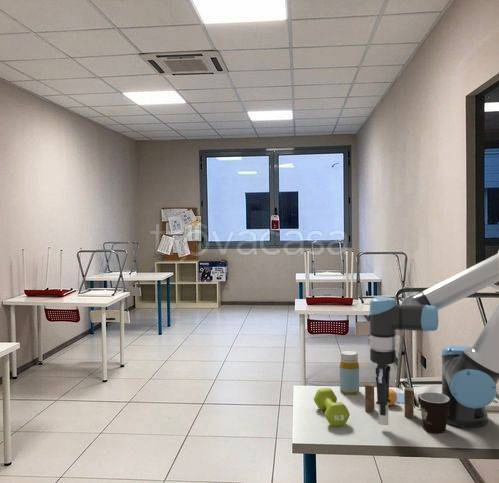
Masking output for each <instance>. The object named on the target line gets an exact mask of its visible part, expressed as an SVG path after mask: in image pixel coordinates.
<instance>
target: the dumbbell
mask: <svg viewBox="0 0 499 483" xmlns="http://www.w3.org/2000/svg"><path fill="white" fill-rule="evenodd" d="M313 402H314V404H315V406H317V408H318V409H319V410H320V411H324V417H325V419H326V421H327V423H329V425H330V426H331V427H335V428H337V427H343V426H345V425H346V423H347V422H348V420H349V418H350V416H351V413H350V412H349V410H348V407H347V406H346V405H345V404H344V403H343V402H341V401H339V402H338V398H337V396H336V394H335V393H334V391H333V389H332V388H330V387H321V388H319V389H317V391H316V393H315V395H314V397H313Z"/></svg>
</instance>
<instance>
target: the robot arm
mask: <svg viewBox="0 0 499 483" xmlns="http://www.w3.org/2000/svg"><path fill="white" fill-rule="evenodd" d="M498 282H499V250H498V251H497V253H495V255H494V254H493V255H492V256H489V257H488V258H486V259H484V260H482V261H479V262H478V263H476V264H473V265H472V266H469V268H466V269H464V270H463V271H460V272H458V273H456V274H454V275H452V276H450V277H448V278H446V279H444V280H442V281H440V282H439V283H437V284H434V285H432V286H430V287H428V288H426V289H424V290H423V291H421V292H418V293H416V294H410V295H409V294H408V295H407V296H406V297H404V298H403V300H402V302H401V304H397V303H396V299H395V298H393V297H389V296H378V297H377V296H375V297H373V298H371V300H370V302H369V334H370V336H368V337H367V340H369V341H370V342H369V344H370V346H369V347H370V350H369V352H370V353H369V358H370V361H371V362H372V363H374V364H376V367H375V375H376V376H375V383H376V400H377V401H376V402H375V404H376V405H378V425H382V426H389V405H388V403H387V402H391V400H390V399H388V398H389V389H390V380H391V379H390V378H391V375H390V374H391V373H390V372H391V366H390V365H391V364H392V365H393V364H395V363H396V361H397V351H396V348H397V335H396V331H415V332H416V331H417V332H433V331H437V330H438V328H439V310H442V309H444V308H446V307H448V306H451V305H452V304H454V303H456V302H458V301H461V300H463V299H465V298H467V297H469V296H472V295H473V294H475V293H478V292H479V291H482V290H484V289H486V288H488V287H490V286H492V285H494V284H496V283H498ZM440 357H441V394H444V395H446V396H448V397H449V407H448V415H447V423H446V424H448V425H450V426H451V425H452V426H454V427H455V426H456V427H460V428H469V429H470V428H471V429H472V428H479V427H483V426H486V424H487V423H488V419H489V416H488V411H487V408H486V407H487V406H488V405H490V404H491V403H492V402H494V400H495V398H496V396H497V384H498V382H499V303H498V304H497V306H496V307H495V309H494V311H493V312H492V314H491V315H490V317H489V319H488V321H487V322H486V324H485V325H484V327H483V329H482V330H481V332H480V334H479V335H478V337H477V338H476V340H475V342H474V343H473V345H472V346H468V345H447V346H443V347H442V349H441V356H440Z"/></svg>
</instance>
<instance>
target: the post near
mask: <svg viewBox="0 0 499 483" xmlns="http://www.w3.org/2000/svg"><path fill="white" fill-rule="evenodd" d="M403 389H404V392H403V393H404V405H403V406H404V417H405V418H409V419H410V418H411V419H413V418H414V415H415V413H414V412H415V411H414V408H415V407H414V404H415V403H414V397H415V396H414V390H415V389H414V387H408V386H405V387H404V388H403Z"/></svg>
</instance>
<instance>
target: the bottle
mask: <svg viewBox="0 0 499 483" xmlns="http://www.w3.org/2000/svg"><path fill="white" fill-rule="evenodd" d="M358 359H359V358H358V351H356V350H353V349H344V350H341V351H340V362H339V391H340V393H341V394H342V395H347V396H355V395H358V393H359V392H360V364H359V362H358V361H359V360H358Z"/></svg>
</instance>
